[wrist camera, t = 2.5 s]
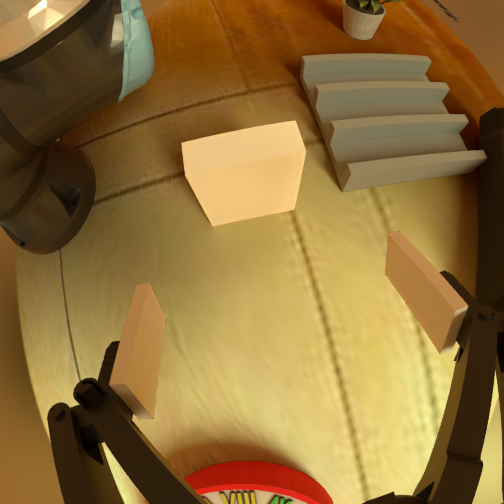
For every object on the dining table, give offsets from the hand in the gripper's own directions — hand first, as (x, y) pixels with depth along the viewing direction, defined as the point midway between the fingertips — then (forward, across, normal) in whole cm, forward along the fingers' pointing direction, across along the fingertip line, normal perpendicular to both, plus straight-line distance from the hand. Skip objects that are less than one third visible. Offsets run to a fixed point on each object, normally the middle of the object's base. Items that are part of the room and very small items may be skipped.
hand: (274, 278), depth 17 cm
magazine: (+14, +30, -9) cm, 34 cm away
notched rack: (+24, +20, +3) cm, 32 cm away
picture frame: (+18, 0, -3) cm, 19 cm away
